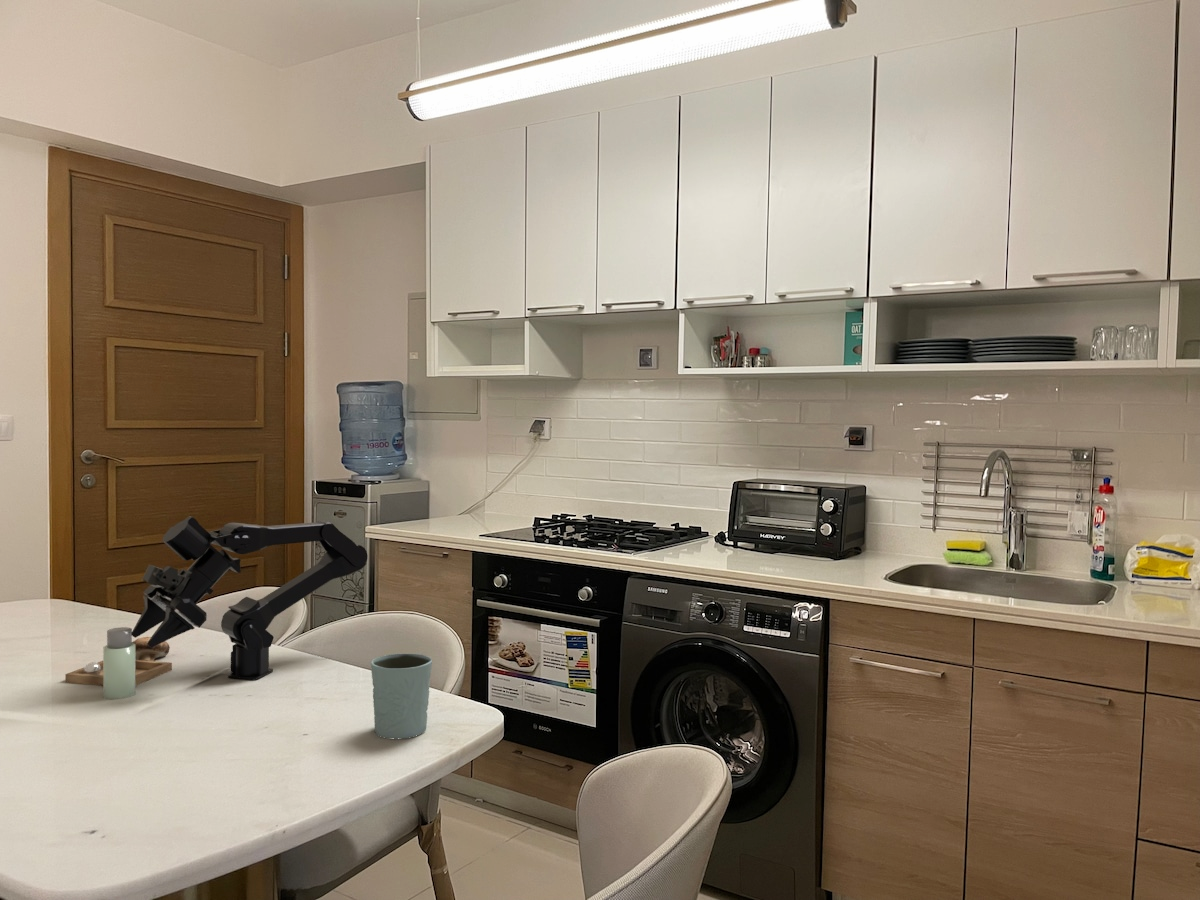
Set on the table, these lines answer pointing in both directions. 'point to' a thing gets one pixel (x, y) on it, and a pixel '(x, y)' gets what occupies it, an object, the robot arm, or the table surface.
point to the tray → (142, 673)
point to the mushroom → (149, 649)
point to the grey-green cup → (401, 694)
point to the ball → (93, 669)
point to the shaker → (119, 664)
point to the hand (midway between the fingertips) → (140, 640)
